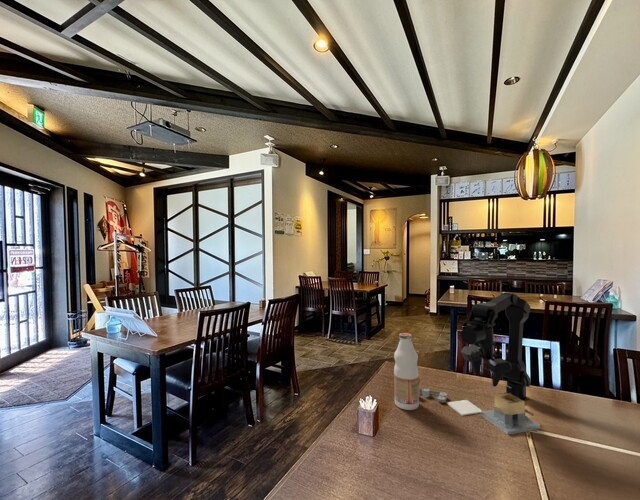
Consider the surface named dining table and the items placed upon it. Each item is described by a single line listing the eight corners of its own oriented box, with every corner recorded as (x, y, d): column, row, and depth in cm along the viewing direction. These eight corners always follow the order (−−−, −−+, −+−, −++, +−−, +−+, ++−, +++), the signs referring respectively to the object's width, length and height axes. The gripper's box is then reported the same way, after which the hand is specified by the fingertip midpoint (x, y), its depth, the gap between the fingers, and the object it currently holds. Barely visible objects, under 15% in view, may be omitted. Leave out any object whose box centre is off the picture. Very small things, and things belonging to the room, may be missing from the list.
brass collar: (509, 403, 112) (509, 392, 112) (524, 412, 106) (524, 401, 106) (494, 405, 111) (494, 394, 111) (508, 415, 105) (508, 403, 105)
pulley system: (421, 411, 118) (453, 402, 123) (420, 399, 119) (452, 390, 123) (385, 384, 145) (413, 377, 149) (385, 374, 145) (412, 368, 149)
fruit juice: (395, 409, 118) (393, 337, 118) (394, 397, 127) (392, 330, 127) (420, 411, 116) (419, 338, 116) (417, 399, 126) (416, 331, 125)
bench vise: (513, 410, 116) (513, 390, 116) (542, 428, 104) (542, 406, 104) (481, 415, 113) (480, 395, 113) (507, 434, 101) (507, 412, 101)
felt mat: (466, 400, 124) (466, 399, 124) (482, 412, 115) (482, 411, 115) (446, 403, 122) (446, 402, 122) (461, 415, 113) (461, 414, 113)
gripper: (449, 333, 121) (450, 372, 121) (482, 349, 102) (483, 395, 103) (474, 331, 123) (475, 369, 123) (511, 346, 104) (512, 391, 105)
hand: (485, 380), depth 113 cm, fingers open, 9 cm apart
